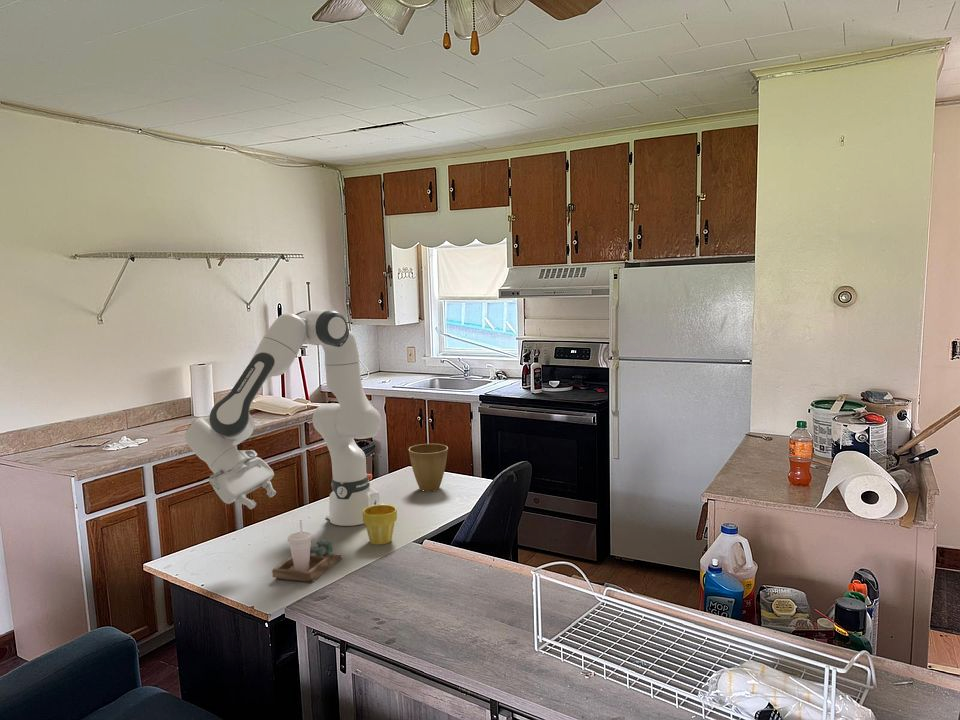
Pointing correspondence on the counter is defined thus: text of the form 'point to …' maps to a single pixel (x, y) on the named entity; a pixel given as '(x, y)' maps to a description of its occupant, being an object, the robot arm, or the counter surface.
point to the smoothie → (300, 549)
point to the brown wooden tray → (317, 564)
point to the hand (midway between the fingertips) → (264, 501)
